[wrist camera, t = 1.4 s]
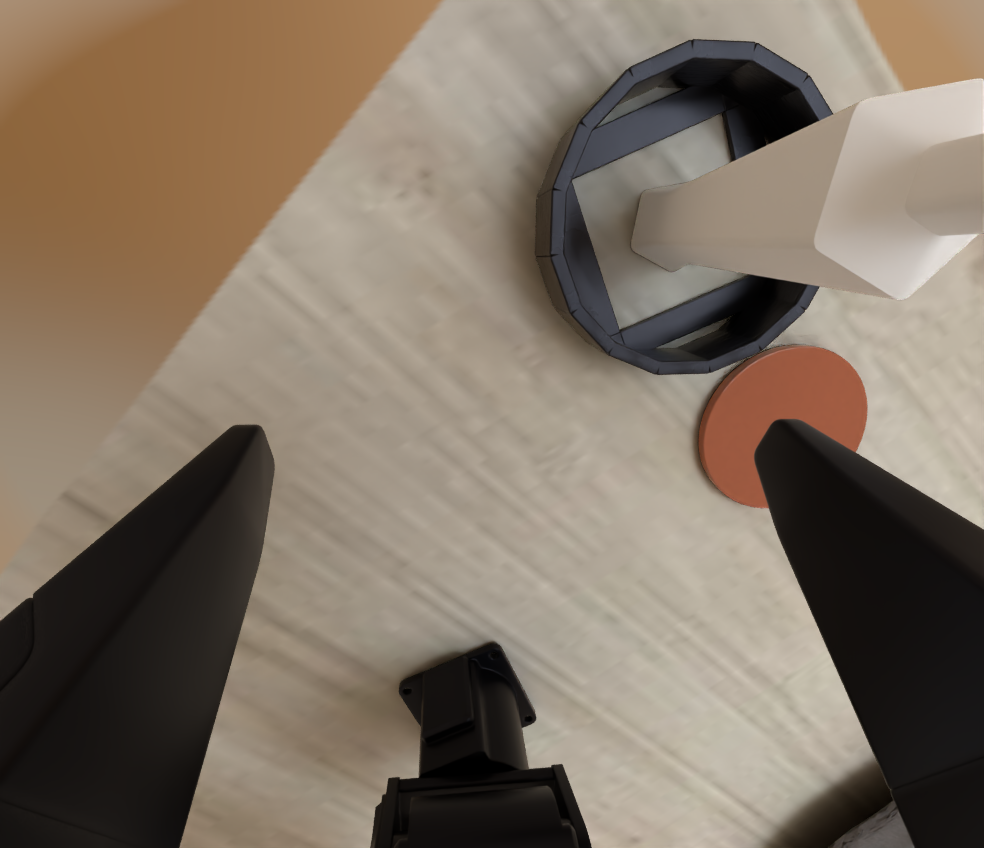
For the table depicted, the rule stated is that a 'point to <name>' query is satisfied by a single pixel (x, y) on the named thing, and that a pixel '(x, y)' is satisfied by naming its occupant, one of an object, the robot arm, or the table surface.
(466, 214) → the table surface
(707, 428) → the coaster
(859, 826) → the serving tray
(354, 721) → the table surface
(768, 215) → the perfume bottle
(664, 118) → the black ring
